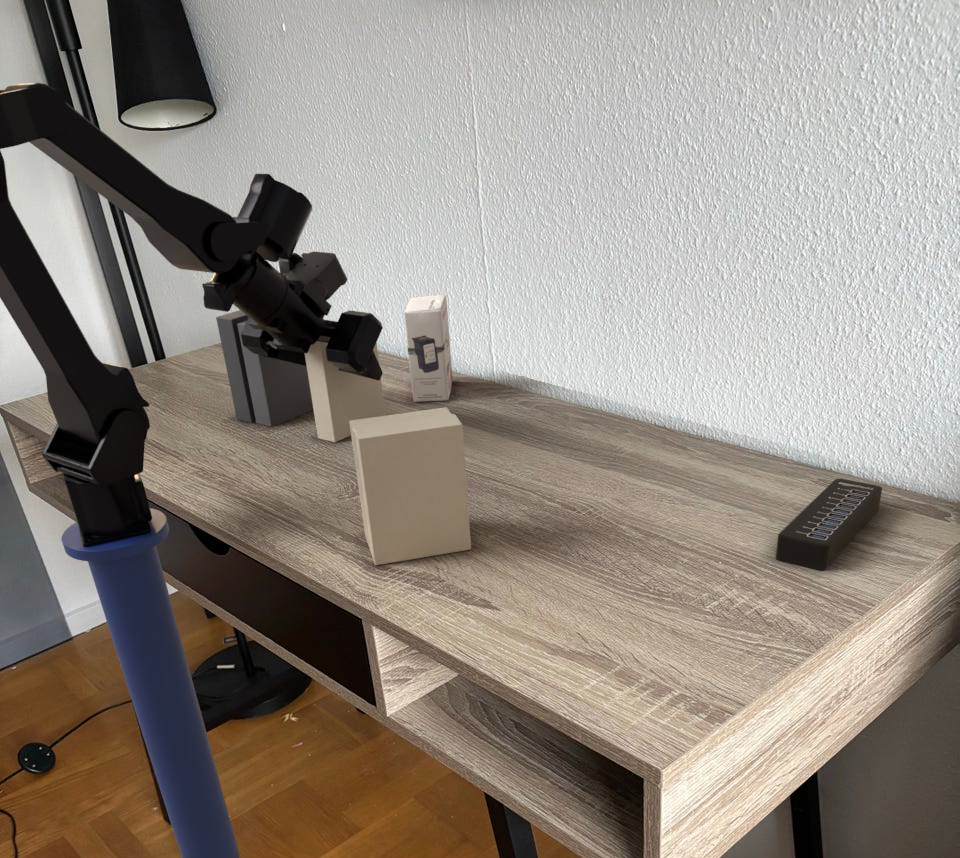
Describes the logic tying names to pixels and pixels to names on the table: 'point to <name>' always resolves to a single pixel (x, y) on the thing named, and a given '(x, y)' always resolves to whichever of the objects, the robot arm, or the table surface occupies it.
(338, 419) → the white book
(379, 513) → the white books
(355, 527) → the table surface
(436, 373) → the ink box
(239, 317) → the grey books
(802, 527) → the multiport hub
